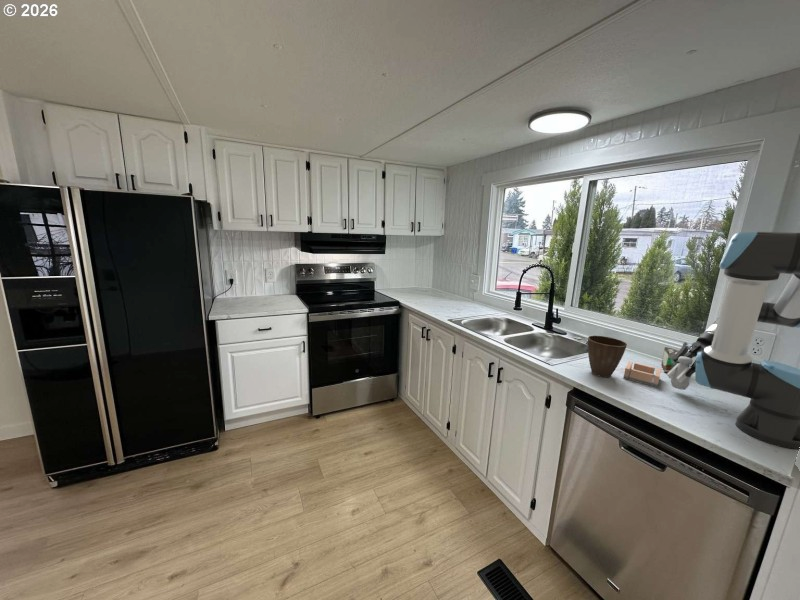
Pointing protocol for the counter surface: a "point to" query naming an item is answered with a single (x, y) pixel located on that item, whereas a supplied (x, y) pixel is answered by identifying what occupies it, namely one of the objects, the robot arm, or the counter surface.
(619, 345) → the plant pot
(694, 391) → the counter surface
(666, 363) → the food container
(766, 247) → the robot arm
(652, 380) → the socket board
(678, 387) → the salt shaker
